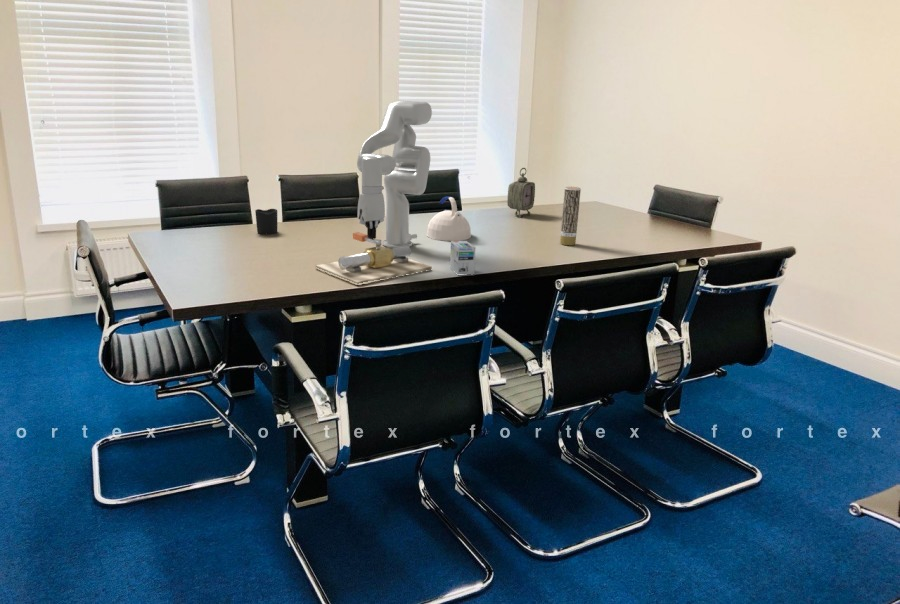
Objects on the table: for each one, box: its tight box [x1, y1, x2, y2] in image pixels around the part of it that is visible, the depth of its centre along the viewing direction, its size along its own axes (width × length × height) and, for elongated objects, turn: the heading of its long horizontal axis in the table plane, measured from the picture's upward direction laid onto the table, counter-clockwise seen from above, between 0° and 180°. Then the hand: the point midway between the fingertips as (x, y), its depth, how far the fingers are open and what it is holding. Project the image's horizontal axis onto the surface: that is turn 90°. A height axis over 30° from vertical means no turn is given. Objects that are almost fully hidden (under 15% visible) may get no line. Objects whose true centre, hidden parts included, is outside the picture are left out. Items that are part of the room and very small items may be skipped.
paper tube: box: [559, 186, 582, 247], centre depth 301 cm, size 7×7×25 cm
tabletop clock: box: [506, 167, 536, 218], centre depth 360 cm, size 14×9×25 cm, turn 147°
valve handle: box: [352, 231, 382, 247], centre depth 256 cm, size 3×15×2 cm, turn 43°
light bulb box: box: [449, 240, 476, 276], centre depth 256 cm, size 11×7×11 cm, turn 17°
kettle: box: [426, 195, 472, 242], centre depth 310 cm, size 20×21×18 cm
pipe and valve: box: [338, 245, 412, 273], centre depth 253 cm, size 30×6×8 cm, turn 133°
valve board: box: [315, 258, 433, 284], centre depth 255 cm, size 34×26×2 cm
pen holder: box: [254, 208, 278, 235], centre depth 305 cm, size 9×9×10 cm
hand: (371, 238), depth 263 cm, fingers closed
